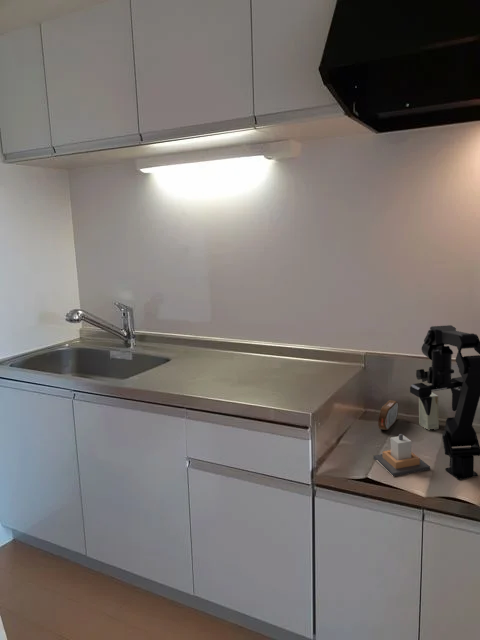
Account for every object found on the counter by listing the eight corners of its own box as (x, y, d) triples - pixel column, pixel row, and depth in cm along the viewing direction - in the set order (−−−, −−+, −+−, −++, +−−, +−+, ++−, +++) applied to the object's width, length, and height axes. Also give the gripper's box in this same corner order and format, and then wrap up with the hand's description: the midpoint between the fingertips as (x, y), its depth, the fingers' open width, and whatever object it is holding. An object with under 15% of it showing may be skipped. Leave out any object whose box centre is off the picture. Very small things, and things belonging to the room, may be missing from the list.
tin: (391, 417, 193) (391, 396, 192) (399, 419, 191) (399, 397, 190) (377, 432, 181) (377, 409, 179) (386, 434, 179) (386, 411, 178)
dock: (429, 469, 154) (429, 460, 153) (393, 476, 151) (392, 466, 150) (408, 452, 165) (407, 443, 164) (373, 458, 162) (373, 449, 162)
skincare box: (439, 429, 180) (439, 396, 178) (427, 431, 180) (427, 397, 177) (429, 422, 186) (429, 390, 184) (418, 424, 186) (418, 391, 183)
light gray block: (411, 462, 156) (411, 436, 155) (398, 465, 155) (398, 438, 154) (403, 456, 160) (403, 430, 159) (390, 458, 159) (390, 433, 158)
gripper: (452, 355, 171) (451, 400, 174) (400, 362, 167) (400, 408, 170) (474, 364, 160) (473, 412, 163) (420, 371, 156) (420, 420, 159)
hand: (441, 412), depth 164 cm, fingers open, 9 cm apart
